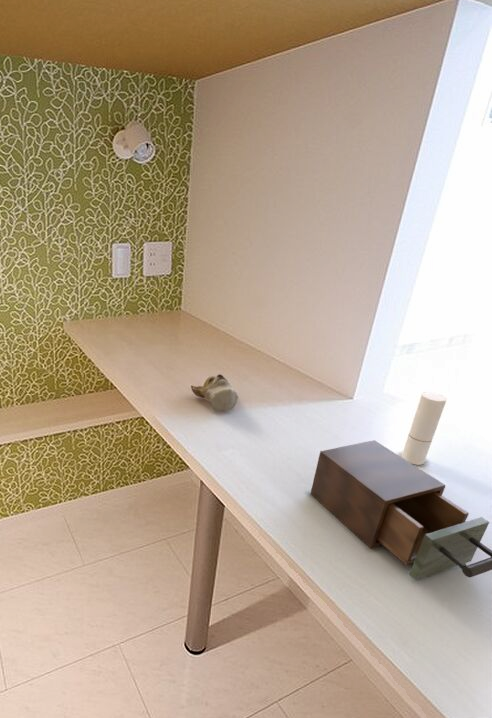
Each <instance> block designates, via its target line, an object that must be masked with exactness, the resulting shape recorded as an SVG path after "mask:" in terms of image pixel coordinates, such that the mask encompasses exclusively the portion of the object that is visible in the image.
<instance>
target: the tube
mask: <svg viewBox="0 0 492 718" xmlns="http://www.w3.org/2000/svg"><path fill="white" fill-rule="evenodd" d="M447 400H448V399H447V397H446V396H444V395H443V394H440V393H436V392H432V391H423V392H422V393H421V395H420V399H419V402H418V405H417V407H416V411H415V414H414V416H413V420H412V423H411V426H410V429H409V432H408V435H407V438H406V441H405V444H404V447H403V450H402V454H401V457H402V458H403V459H405V460H406V461H408V462H410V463H411V464H413V465H415V466H416V465H418V466H421V465H423V464H424V463H425V462H426V458H427V456H428V452H429V450H430V447H431V445H432V442H433V439H434V437H435V433H436V431H437V428H438V425H439V422H440V420H441V416H442V413H443V411H444V409H445V406H446V403H447Z"/></svg>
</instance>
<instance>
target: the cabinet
mask: <svg viewBox="0 0 492 718" xmlns="http://www.w3.org/2000/svg"><path fill="white" fill-rule="evenodd" d="M445 489H446V484H444V483H442V482H441V481H440V480H438V479H436V478H435V477H433V476H431V475H430V474H429V473H427V472H426V471H424V470H423V469H420V468H419V467H418V466H416V465H415V464H411V463H410V462H408V461H406V460H405V459H403V458H402V456H400V455H399V454H397V453H396V452H394V451H392V450H391V449H389V448H388V447H386V446H384V445H383V444H382V443H380V442H378V441H376V440H374V439H372V440H368V441H364V442H363V441H362V442H359V443H353V444H349V445H344V446H339V447H334V448H330V449H324V450H320V452H319V455H318V460H317V464H316V468H315V473H314V477H313V481H312V485H311V490H310V495H311V496H312V497H313V498H314V499H315V500H316V501H318V502H319V503H320V504H321V505H322V506H323V507H324V508H325V509H326V510H327V511H328V512H329V513H331V514H332V515H333V516H334V517H335V518H336V519H337V520H338V521H339V522H341V524H343V526H345V527H346V528H347V529H348V530H349V531H351V532H352V533H353V534H354V536H356V537H357V538H358V539H359V541H361V542H363V544H365V546H367V547H368V548H369V549H374V548H377V547H379V546H383V545H382V544H381V543H380V542H379V541H378V540H377V537H378V534H379V531H380V528H381V525H382V522H383V519H384V516H385V513H386V510H387V507H388V504H391V503H395V502H399V501H402V500H406V499H410V498H413V497H417V496H421V495H425V494H428V493H432V492H438V493H439V494H441V495H442V496H443V493H444V491H445Z"/></svg>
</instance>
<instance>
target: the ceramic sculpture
mask: <svg viewBox="0 0 492 718" xmlns="http://www.w3.org/2000/svg"><path fill="white" fill-rule="evenodd" d="M190 387H191V391H192V393H193V394H194V395H195V396H196V397H198V398H202V399H205V400H206V401H207V402H209V403H210V404H211V407H212V408H213V410H214V411H216V412H222V413H225V412H226V413H227V412H228V411H231V410H233V409H234V408H235V407H236V405H237V404H238V399H239V395H238V393H237V391H236V390H235V389H233V388H232V385H231V384H230V382H229V381H228V379H227V377H225V376H223V374H217V375H212V376H209V377H208V378H206V379H205V381H204V383H203V385H198V386H196V385H195V386H194V385H190Z"/></svg>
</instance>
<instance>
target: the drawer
mask: <svg viewBox="0 0 492 718" xmlns="http://www.w3.org/2000/svg"><path fill="white" fill-rule="evenodd" d="M469 514H470V513H469V511H466V510H465V509H463V508H462V507H461V506H459V505H457V504H456V503H454V502H453V501H452V500H450V499H449V498H447V497H446V496H443V494H442V495H441V494H439V493H438V492H432V493H428V494H425V495H421V496H417V497H413V498H410V499H406V500H402V501H399V502H395V503H391V504H388V507H387V510H386V513H385V516H384V519H383V522H382V525H381V528H380V531H379V534H378V537H377V540H378V541H379V542H380V543H381V544H382V545H381V546H383V547H384V548H386V549H387V550H388V551H389V552H390V553H391V554H392V555H394V556H395V557H396V558H397V559H398V560H400V561H401V562H402V563H403V564H404V565H406V566H407V565H410V564H412V567H411V568H410V571H409V576H410V577H412V578H413V580H415V581H419V580H421V579H424V578H427V577H430V576H433V575H436V574H438V573H441V572H444V571H447V570H449V569H450V570H451V569H453V568H455V567H459V568H460V569H461V571H462V573H463V575H464V576H465V577H467V578H473V577H476V576H479V575H482V574H484V573H487V572H490V571H492V549H490V548H489V547H487V546H486V545H485V544H483V543H482V542H481V541H482V539H483V537H484V535H485V532H486V530H487V528H488V526H489V524H490V521H489V520H487V519H485V518H484V517H482V516H480V517H477V518H474V519H471V520H468V521H466V520H467V519H468V516H469ZM478 549H479V550H481V551H482V552H484V553H485V554H486V555H488V556H489V557H488V558H485V559H482V560H479V561H477V562H474V563H471V564H468V565H467V563H470V562H472V560H473V558H474V555H476V552H477V550H478Z"/></svg>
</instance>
